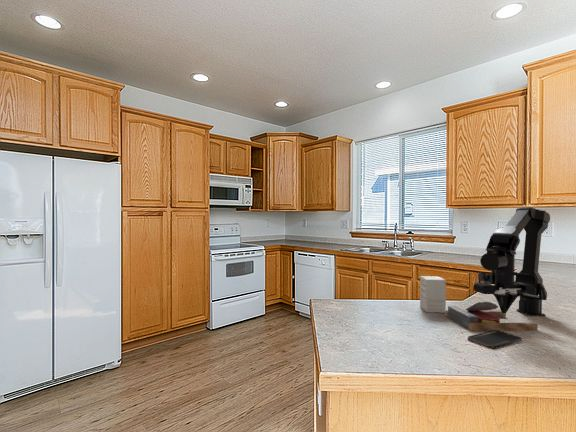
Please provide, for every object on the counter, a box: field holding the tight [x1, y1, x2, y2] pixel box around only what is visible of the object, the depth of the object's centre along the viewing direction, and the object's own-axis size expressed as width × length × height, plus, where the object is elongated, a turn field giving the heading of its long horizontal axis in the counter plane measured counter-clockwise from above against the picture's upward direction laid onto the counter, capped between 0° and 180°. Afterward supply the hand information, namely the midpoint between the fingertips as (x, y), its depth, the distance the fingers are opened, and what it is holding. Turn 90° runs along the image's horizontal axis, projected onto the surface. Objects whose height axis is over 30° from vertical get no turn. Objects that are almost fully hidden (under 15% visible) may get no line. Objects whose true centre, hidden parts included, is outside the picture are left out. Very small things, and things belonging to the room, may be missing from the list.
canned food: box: [465, 301, 501, 323], centre depth 108 cm, size 11×10×10 cm
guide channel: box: [445, 309, 538, 332], centre depth 109 cm, size 22×15×2 cm
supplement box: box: [419, 275, 447, 314], centre depth 123 cm, size 7×7×13 cm
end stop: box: [447, 305, 478, 330], centre depth 108 cm, size 3×12×4 cm, turn 4°
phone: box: [467, 330, 523, 350], centre depth 93 cm, size 8×1×15 cm
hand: (503, 312), depth 109 cm, fingers closed
